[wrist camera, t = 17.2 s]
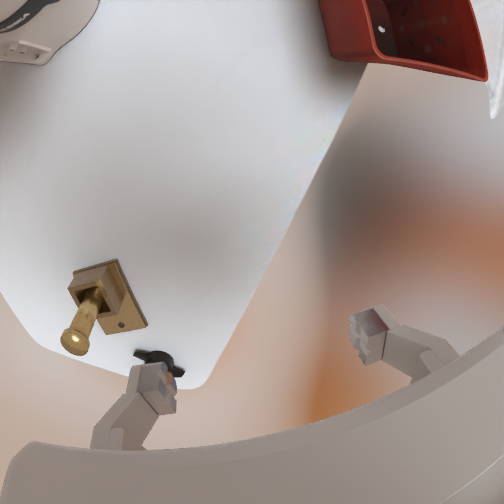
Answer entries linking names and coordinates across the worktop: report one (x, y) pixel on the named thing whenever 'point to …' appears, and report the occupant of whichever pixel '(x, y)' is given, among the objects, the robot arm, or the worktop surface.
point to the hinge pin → (83, 323)
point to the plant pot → (407, 35)
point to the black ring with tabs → (160, 357)
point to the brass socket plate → (109, 297)
